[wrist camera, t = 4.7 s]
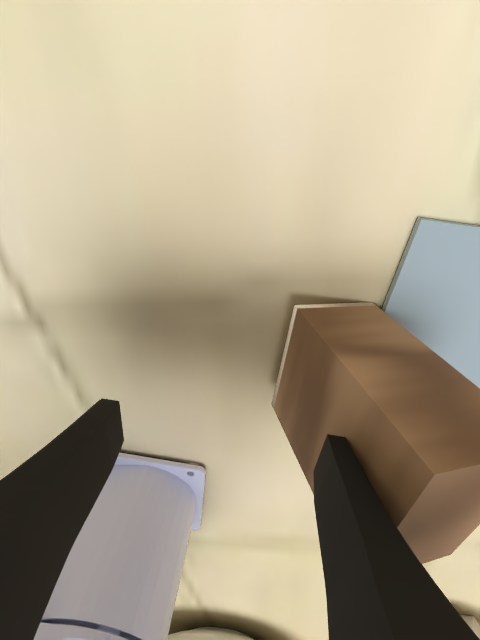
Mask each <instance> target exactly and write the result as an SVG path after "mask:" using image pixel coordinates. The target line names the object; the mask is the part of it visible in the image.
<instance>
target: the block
mask: <svg viewBox="0 0 480 640" xmlns="http://www.w3.org/2000/svg"><path fill="white" fill-rule="evenodd" d="M272 406H273V408H274V410H275V412H276V415H277V417H278V419H279V421H280V423H281V425H282V427H283V430H284V432H285V434H286V436H287V438H288V440H289V442H290V445H291V447H292V449H293V451H294V453H295V455H296V457H297V460H298V462H299V464H300V466H301V468H302V470H303V472H304V475H305V477H306V479H307V481H308V483H309V485H310V487H311V490H312V492H313V494H314V476H313V471H314V468H315V466H316V463H317V460H318V458H319V455H320V452H321V449H322V447H323V444H324V441H325V439H326V436H327V434H329V435H336V436H342V437H346V439H347V440H348V442H349V444H350V446H351V448H352V450H353V452H354V454H355V456H356V457H357V459H358V461H359V463H360V465H361V467H362V469H363V471H364V472H365V474H366V476H367V478H368V480H369V482H370V483H371V485H372V487H373V489H374V490H375V492H376V494H377V495H378V497H379V499H380V501H381V502H382V504H383V506H384V507H385V509H386V511H387V512H388V514H389V516H390V517H391V519H392V520H393V522H394V524H395V525H396V527H397V528H398V530H399V531H400V533H401V534H402V536H403V538H404V539H405V541H406V542H407V544H408V545H409V547H410V548H411V550H412V551H413V552H414V554H415V555H416V557H417V558H418V560H419V561H420V563H421V564H423V563H426V562H429V561H432V560H435V559H438V558H441V557H444V556H447V555H450V554H452V553H453V552H454V550H455V549H456V548H457V547H458V546H459V545H460V544H461V543H462V542H463V541H464V540H465V539H466V538H467V537H468V536H469V535H470V534H471V533H472V532H473V531H474V530H475V529H476V527H477V526H478V525H479V524H480V388H479V387H477V386H476V385H475V384H474V383H472V382H471V381H470V380H469V379H467V378H466V377H465V376H464V375H462V374H461V373H460V372H459V371H457V370H456V369H455V368H454V367H452V366H451V365H450V364H449V363H447V362H446V361H445V360H444V359H442V358H441V357H440V356H439V355H437V354H436V353H435V352H434V351H432V350H431V349H430V348H429V347H427V346H426V345H425V344H424V343H422V342H421V341H420V340H419V339H417V338H416V337H415V336H414V335H412V334H411V333H410V332H409V331H407V330H406V329H405V328H404V327H403V326H401V325H400V324H399V323H398V322H396V321H395V320H394V319H393V318H391V317H390V316H389V315H388V314H386V313H385V312H384V311H383V310H381V309H380V308H379V307H378V306H376V305H375V304H374V303H373V302H366V303H337V304H308V305H294V309H293V313H292V318H291V322H290V326H289V331H288V335H287V340H286V344H285V348H284V353H283V357H282V361H281V366H280V370H279V374H278V379H277V383H276V388H275V392H274V396H273V401H272Z"/></svg>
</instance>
